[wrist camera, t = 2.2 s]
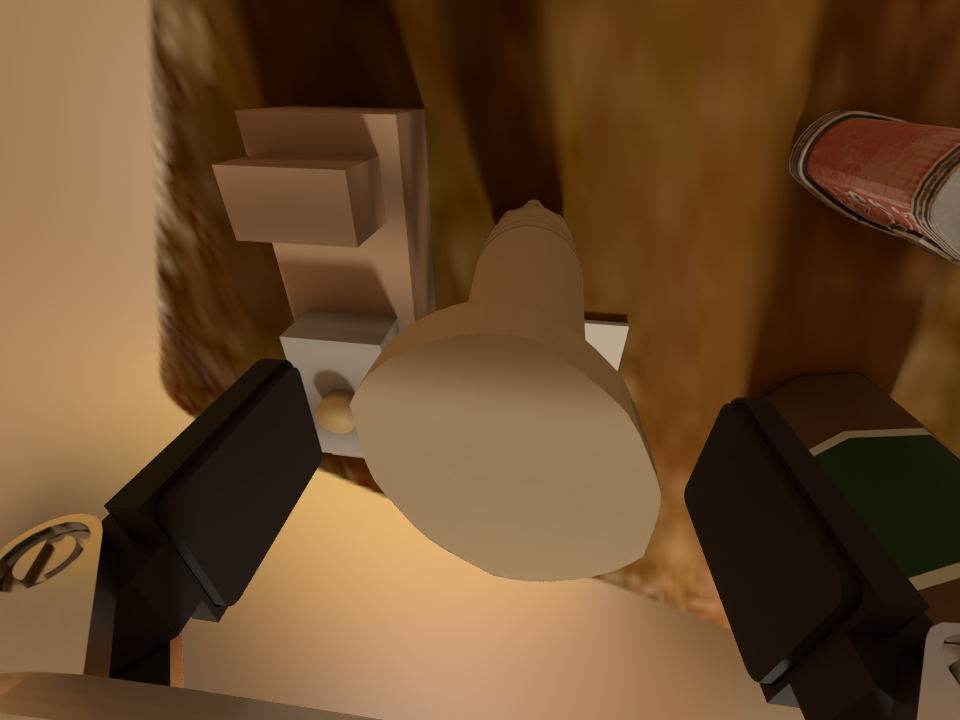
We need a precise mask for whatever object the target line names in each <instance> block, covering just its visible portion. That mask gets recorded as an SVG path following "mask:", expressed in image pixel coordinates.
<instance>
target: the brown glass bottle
mask: <svg viewBox="0 0 960 720" xmlns="http://www.w3.org/2000/svg"><path fill="white" fill-rule="evenodd" d="M761 400H768V401H770V402H771V403H772V404H773V405H774V406H775V407H776V409H777V410H778V411H779V412H780V414H781V415H782V416H783V418H784V419H785V420H786V421H787V423H788V424H789V425H790V427H791V428H792V429H793V430H794V432H795V433H796V434H797V436H798V437H799V438H800V440H801V441H802V442H803V443H804V445H805V446H806V447H807V449H808V450H809V451H810V452H811V454H812V455H813V456H814V458H815V459H816V460H817V461H818V463H819V464H820V465H821V467H822V468H823V469H824V470H825V472H826V473H827V474H828V476H829V477H830V478H831V480H832V481H833V482H834V483H835V485H836V486H837V487H838V489H839V490H840V491H841V492H842V494H843V495H844V496H845V498H846V499H847V500H848V501H849V503H850V504H851V505H852V507H853V508H854V509H855V511H856V512H857V513H858V514H859V516H860V517H861V518H862V520H863V521H864V522H865V523H866V525H867V526H868V527H869V529H870V530H871V531H872V532H873V534H874V535H875V536H876V538H877V539H878V540H879V541H880V543H881V544H882V545H883V547H884V548H885V549H886V551H887V552H888V553H889V554H890V556H891V557H892V558H893V560H894V561H895V562H896V563H897V565H898V566H899V567H900V569H901V570H902V571H903V572H904V574H905V575H906V576H907V578H908V579H909V580H910V582H911V583H912V584H913V585H914V587H915V588H916V589H917V591H918V592H919V593H920V594H921V596H922V597H923V598H924V600H925V601H926V602H927V603H928V605H929V606H930V608H929V609H927V610H926V611H925V613H926V614H927V616H928V617H929V618H930V620H931V621H932V622H933V624H934V625H937V624H940V623H942V622H944V623H960V458H959V457H958V456H957V455H956V454H955V453H954V452H953V451H952V450H951V449H949V448H948V447H947V446H946V445H945V444H944V443H943V442H942V441H941V440H939V439H938V438H937V437H936V436H935V435H934V434H933V433H932V432H931V431H929V430H928V429H927V428H926V427H925V426H924V425H923V424H922V423H920V422H919V421H918V420H917V419H916V418H914V417H913V416H912V415H911V414H910V413H908V412H907V411H906V410H905V409H904V408H902V407H901V406H900V405H899V404H898V403H896V402H895V401H894V400H893V399H892V398H890V397H889V396H888V395H887V394H886V393H884V392H883V391H882V390H881V389H879V388H878V387H877V386H876V385H874V384H873V383H872V382H870V381H869V380H868V379H867V378H865V377H864V376H863V375H862V374H857V373H843V374H829V375H814V376H800V377H794V378H792V379H791V380H789V381H788V382H786V383H784V384H783V385H781V386H780V387H778V388H777V389H775V390H774V391H772V392H770V393H769V394H767V395H766V396H764V397H763V398H761Z"/></svg>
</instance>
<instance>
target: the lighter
mask: <svg viewBox="0 0 960 720" xmlns="http://www.w3.org/2000/svg"><path fill="white" fill-rule="evenodd" d="M789 171H790V173H791V174H792V176H793V178H794V179H796V180H797V181H798V182H799V183H800V184H801V185H802V186H804V187H805V188H806V189H807V190H808V191H809V192H810V193H812V194H813V195H814V196H815V197H816V198H817V199H818V200H820V201H822V202H823V203H825V204H827V205H828V206H830V207H832V208H833V209H835V210H837V211H838V212H840V213H841V214H843V215H845V216H846V217H848V218H851V219H853V220H855V221H857V222H860V223H862V224H865V225H868V226H870V227H873V228H876V229H878V230H881V231H884V232H886V233H889V234H892V235H894V236H899V237H902V238H904V239H906V240H907V241H909V242H911V243H912V244H914V245H915V246H917V247H919V248H920V249H922V250H924V251H927V252H929V253H931V254H934V255H936V256H938V257H941V258H943V259H945V260H947V261H950V262H952V263H954V264H957V265H960V128H954V127H944V126H935V125H925V124H916V123H910V122H907V121H905V120H900V119H896V118H891V117H886V116H882V115H877V114H873V113H868V112H863V111H852V110H837V111H834V112H832V113H829V114H826V115H824V116H822V117H821V118H819V119H818V120H817V121H815V122H814V123H812V124H811V125H810V126H809V127H808V128H807V129H806V130H805V131H804V132H803V133H802V134H801V135H800V137H799V139H798V140H797V142H796V144H795V145H794V147H793V149H792V152H791V155H790V158H789Z"/></svg>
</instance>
